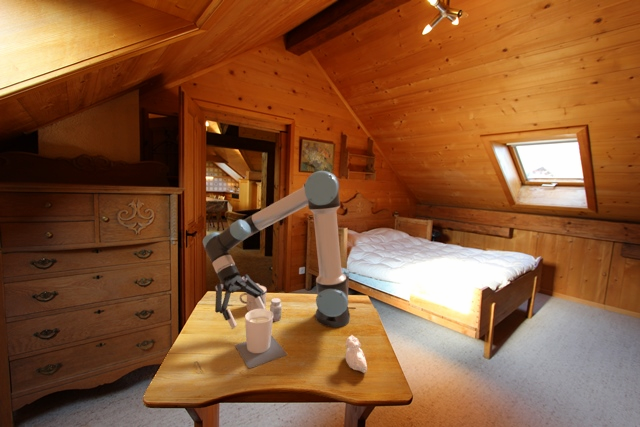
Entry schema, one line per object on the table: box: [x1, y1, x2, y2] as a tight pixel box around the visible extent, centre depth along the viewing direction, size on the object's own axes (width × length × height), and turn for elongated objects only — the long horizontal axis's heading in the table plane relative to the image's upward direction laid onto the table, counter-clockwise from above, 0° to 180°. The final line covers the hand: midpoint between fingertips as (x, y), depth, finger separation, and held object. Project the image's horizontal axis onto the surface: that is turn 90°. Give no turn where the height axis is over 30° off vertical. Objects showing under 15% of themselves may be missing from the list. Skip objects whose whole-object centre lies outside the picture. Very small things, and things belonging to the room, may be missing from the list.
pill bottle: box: [269, 297, 282, 322], centre depth 121 cm, size 5×5×8 cm
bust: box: [344, 334, 368, 374], centre depth 94 cm, size 12×8×11 cm
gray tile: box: [234, 334, 289, 370], centre depth 100 cm, size 14×14×1 cm
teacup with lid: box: [239, 282, 268, 312], centre depth 128 cm, size 12×9×12 cm
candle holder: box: [244, 308, 274, 353], centre depth 100 cm, size 10×10×12 cm
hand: (250, 319), depth 102 cm, fingers open, 13 cm apart
